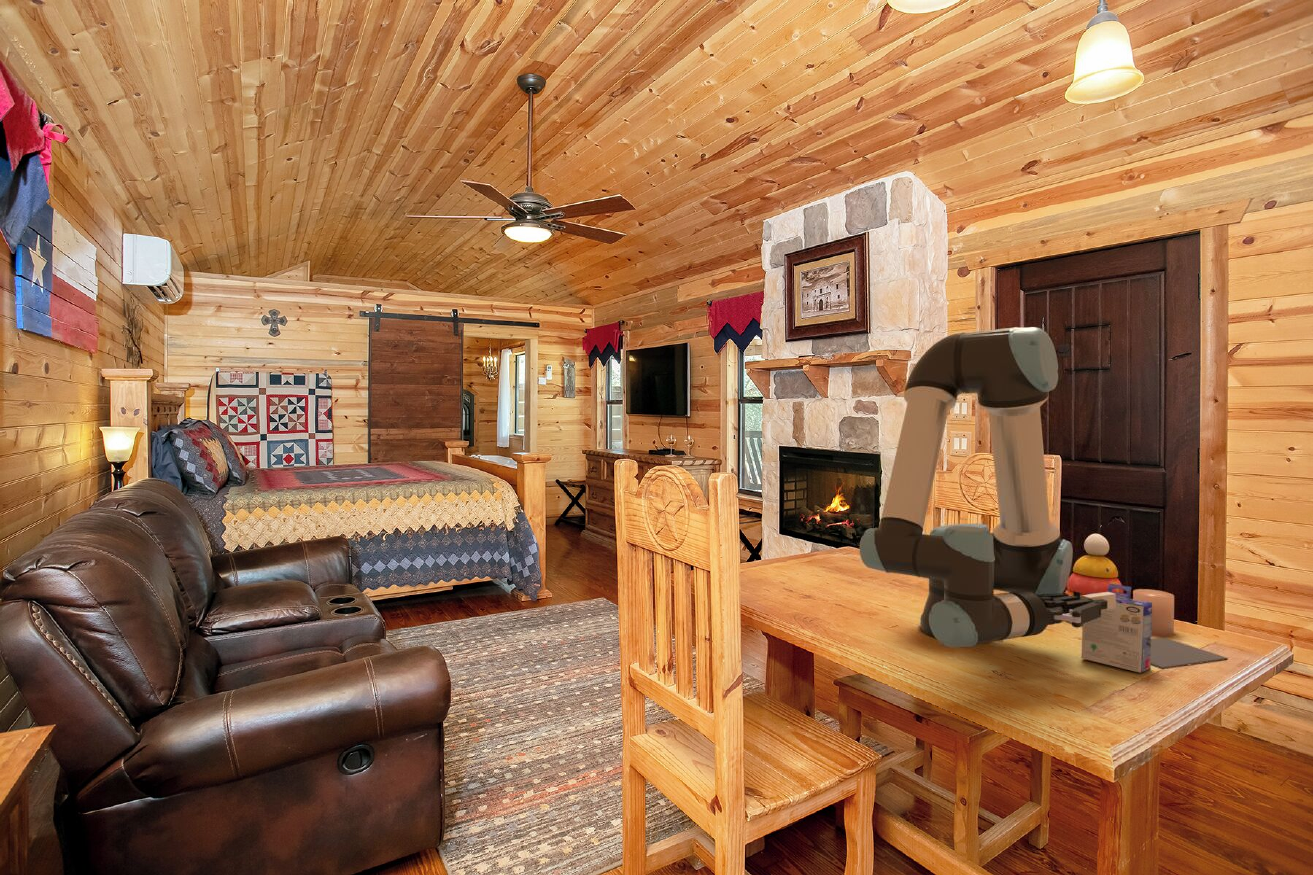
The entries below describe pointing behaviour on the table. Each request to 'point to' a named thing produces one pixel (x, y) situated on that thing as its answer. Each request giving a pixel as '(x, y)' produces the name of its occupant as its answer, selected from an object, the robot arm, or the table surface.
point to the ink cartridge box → (1120, 634)
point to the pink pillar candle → (1159, 610)
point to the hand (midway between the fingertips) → (1111, 600)
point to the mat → (1178, 654)
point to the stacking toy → (1093, 569)
